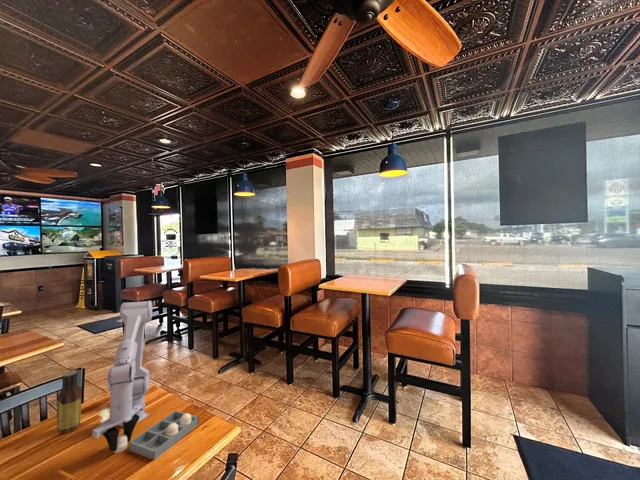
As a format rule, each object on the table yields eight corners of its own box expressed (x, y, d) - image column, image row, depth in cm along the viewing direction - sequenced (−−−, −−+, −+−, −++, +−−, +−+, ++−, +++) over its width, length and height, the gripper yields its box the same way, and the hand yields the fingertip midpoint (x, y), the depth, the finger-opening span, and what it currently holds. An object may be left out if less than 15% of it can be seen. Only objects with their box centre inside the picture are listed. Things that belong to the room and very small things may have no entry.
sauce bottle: (63, 424, 94) (65, 369, 94) (84, 421, 96) (86, 367, 96) (51, 437, 87) (53, 378, 88) (73, 432, 89) (75, 375, 90)
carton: (128, 451, 81) (128, 442, 81) (175, 418, 97) (175, 410, 97) (154, 462, 77) (154, 451, 77) (198, 425, 93) (198, 417, 93)
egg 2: (163, 440, 85) (163, 426, 85) (172, 433, 88) (173, 419, 88) (171, 443, 84) (171, 428, 84) (180, 435, 87) (180, 421, 87)
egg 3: (177, 429, 90) (177, 416, 90) (185, 423, 93) (186, 410, 94) (185, 431, 89) (185, 418, 89) (193, 425, 92) (193, 412, 92)
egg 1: (110, 452, 80) (110, 437, 81) (122, 444, 84) (122, 430, 84) (117, 455, 79) (118, 440, 79) (129, 447, 83) (130, 432, 83)
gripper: (103, 418, 74) (102, 466, 73) (151, 392, 87) (150, 432, 87) (88, 413, 76) (87, 460, 76) (137, 388, 90) (136, 428, 89)
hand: (120, 445), depth 81 cm, fingers closed on egg 1, 4 cm apart
